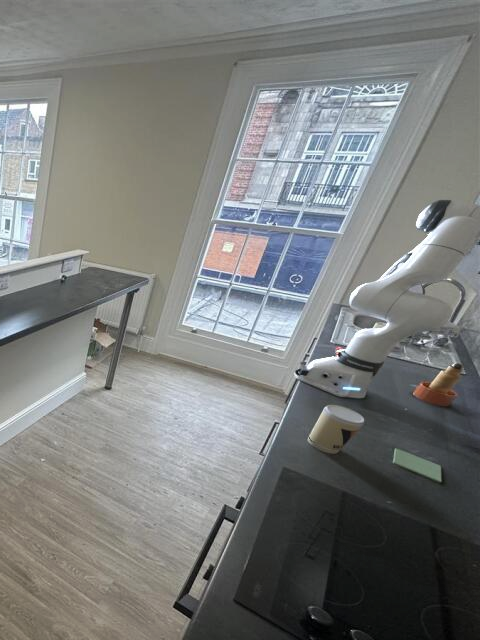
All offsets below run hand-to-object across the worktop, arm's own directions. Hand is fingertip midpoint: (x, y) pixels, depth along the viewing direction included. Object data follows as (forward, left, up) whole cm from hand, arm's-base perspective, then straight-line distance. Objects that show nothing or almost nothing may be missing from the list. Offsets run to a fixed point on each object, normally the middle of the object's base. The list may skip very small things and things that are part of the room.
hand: (442, 334), depth 151 cm
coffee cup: (-16, -81, -22) cm, 86 cm away
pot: (+8, -9, -22) cm, 25 cm away
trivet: (+5, -69, -22) cm, 73 cm away
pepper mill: (+8, -9, -21) cm, 25 cm away
